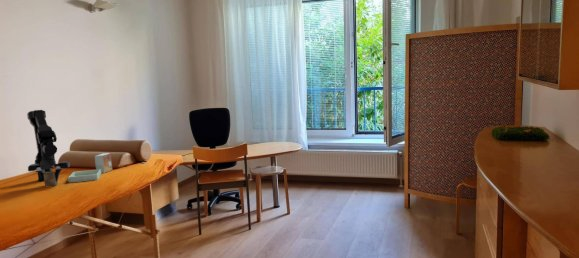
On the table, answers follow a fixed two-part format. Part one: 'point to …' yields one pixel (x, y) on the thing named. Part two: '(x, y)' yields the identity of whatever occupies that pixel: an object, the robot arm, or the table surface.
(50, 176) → the walnut block
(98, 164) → the small box
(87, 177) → the tray
